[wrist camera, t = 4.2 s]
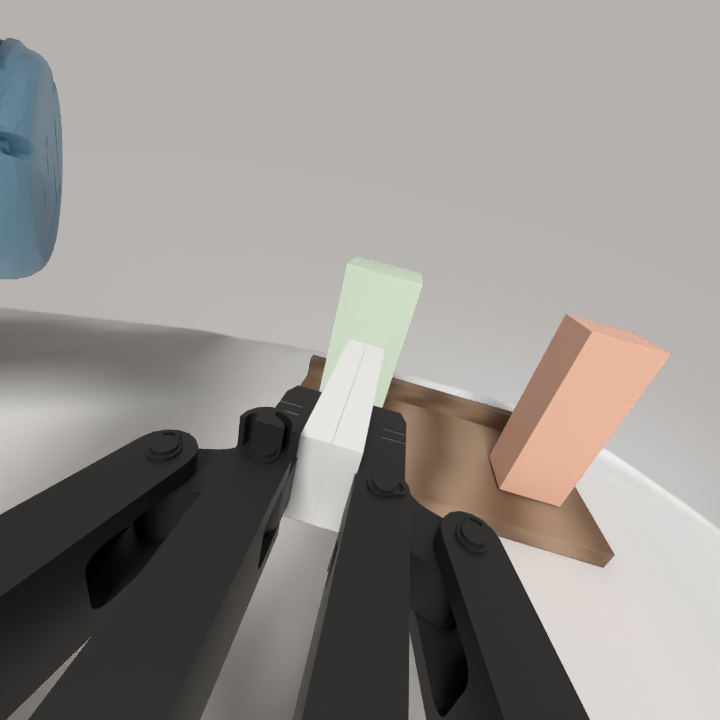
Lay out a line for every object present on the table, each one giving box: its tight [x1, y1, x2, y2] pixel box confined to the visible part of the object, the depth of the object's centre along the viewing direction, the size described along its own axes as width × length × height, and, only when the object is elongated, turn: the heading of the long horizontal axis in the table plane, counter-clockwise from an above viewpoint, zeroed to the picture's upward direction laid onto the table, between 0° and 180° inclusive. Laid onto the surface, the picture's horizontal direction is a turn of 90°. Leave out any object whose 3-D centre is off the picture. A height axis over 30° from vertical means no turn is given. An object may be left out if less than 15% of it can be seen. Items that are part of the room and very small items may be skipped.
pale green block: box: [319, 256, 423, 408], centre depth 26 cm, size 5×4×14 cm
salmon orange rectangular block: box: [489, 314, 670, 507], centre depth 26 cm, size 5×4×14 cm
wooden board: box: [301, 355, 614, 567], centre depth 31 cm, size 27×15×4 cm, turn 82°
